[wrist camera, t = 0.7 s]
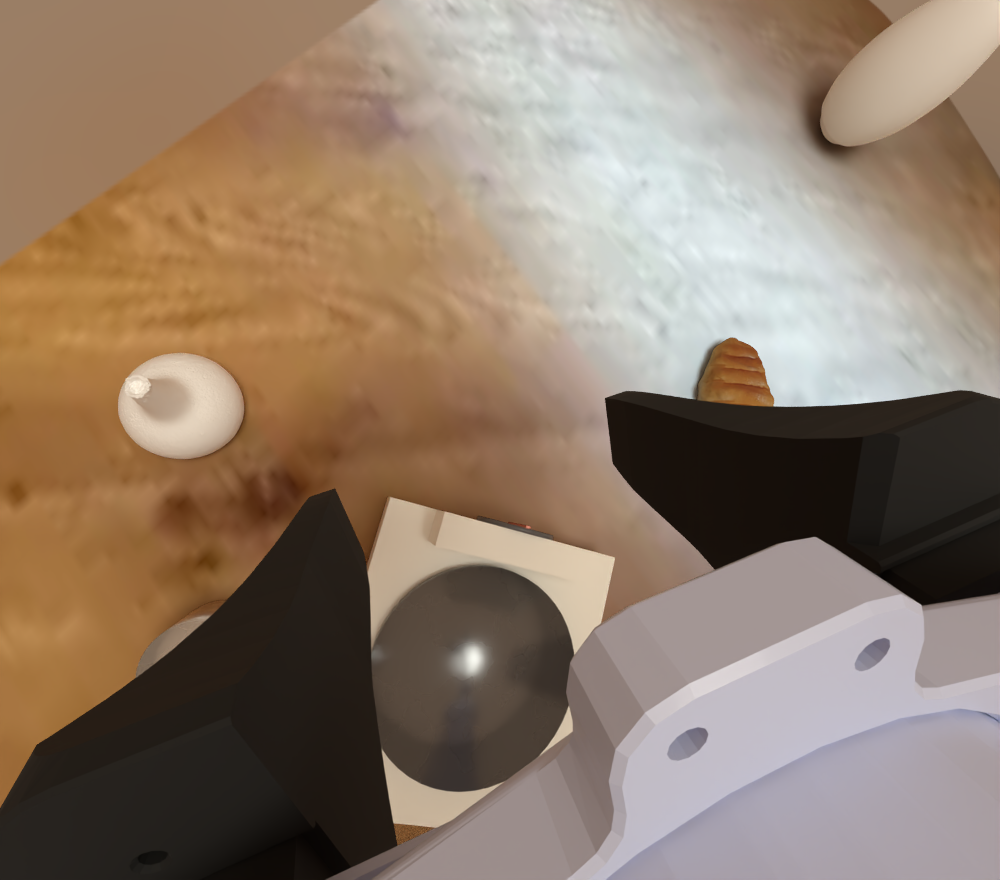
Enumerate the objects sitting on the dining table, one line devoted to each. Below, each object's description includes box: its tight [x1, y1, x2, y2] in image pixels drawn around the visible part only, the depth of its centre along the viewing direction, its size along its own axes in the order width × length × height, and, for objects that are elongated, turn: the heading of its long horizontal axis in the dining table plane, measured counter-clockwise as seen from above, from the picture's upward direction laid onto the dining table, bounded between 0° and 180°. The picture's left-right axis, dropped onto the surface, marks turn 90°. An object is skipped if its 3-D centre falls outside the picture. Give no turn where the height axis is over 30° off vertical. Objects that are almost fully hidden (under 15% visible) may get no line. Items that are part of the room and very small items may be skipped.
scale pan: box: [371, 565, 574, 792], centre depth 30 cm, size 13×13×1 cm
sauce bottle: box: [820, 0, 1000, 147], centre depth 40 cm, size 8×8×18 cm
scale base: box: [366, 497, 615, 828], centre depth 30 cm, size 18×16×6 cm
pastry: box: [697, 338, 774, 406], centre depth 40 cm, size 9×7×4 cm
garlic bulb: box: [118, 353, 244, 459], centre depth 26 cm, size 6×6×8 cm
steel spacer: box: [136, 600, 226, 677], centre depth 27 cm, size 5×5×5 cm
